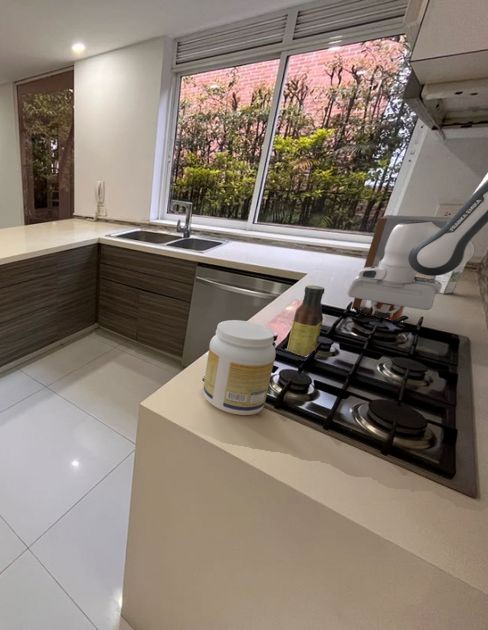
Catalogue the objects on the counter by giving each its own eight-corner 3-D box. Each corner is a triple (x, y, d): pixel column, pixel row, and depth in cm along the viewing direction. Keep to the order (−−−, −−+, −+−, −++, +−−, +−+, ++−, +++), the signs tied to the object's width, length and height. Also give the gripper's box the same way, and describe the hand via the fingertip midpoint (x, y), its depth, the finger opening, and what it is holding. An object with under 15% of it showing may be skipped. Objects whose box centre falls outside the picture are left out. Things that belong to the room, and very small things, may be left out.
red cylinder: (401, 316, 120) (407, 299, 117) (393, 333, 107) (401, 313, 104) (370, 311, 125) (376, 294, 123) (359, 326, 112) (366, 307, 110)
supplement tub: (274, 403, 72) (292, 331, 66) (244, 425, 66) (261, 347, 60) (221, 379, 82) (233, 314, 76) (190, 396, 75) (200, 326, 69)
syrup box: (437, 289, 151) (449, 257, 145) (453, 293, 145) (467, 260, 140) (427, 290, 149) (439, 258, 144) (443, 294, 144) (457, 260, 139)
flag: (420, 317, 119) (459, 217, 108) (416, 330, 108) (459, 221, 96) (358, 305, 132) (386, 215, 120) (348, 317, 120) (378, 218, 108)
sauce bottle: (317, 364, 88) (337, 291, 81) (291, 362, 89) (309, 290, 82) (305, 353, 94) (323, 284, 87) (281, 351, 95) (297, 283, 88)
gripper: (444, 278, 100) (427, 321, 104) (356, 267, 114) (345, 306, 119) (443, 282, 96) (426, 327, 101) (353, 270, 110) (341, 310, 115)
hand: (381, 315), depth 110 cm, fingers closed on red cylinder, 2 cm apart
